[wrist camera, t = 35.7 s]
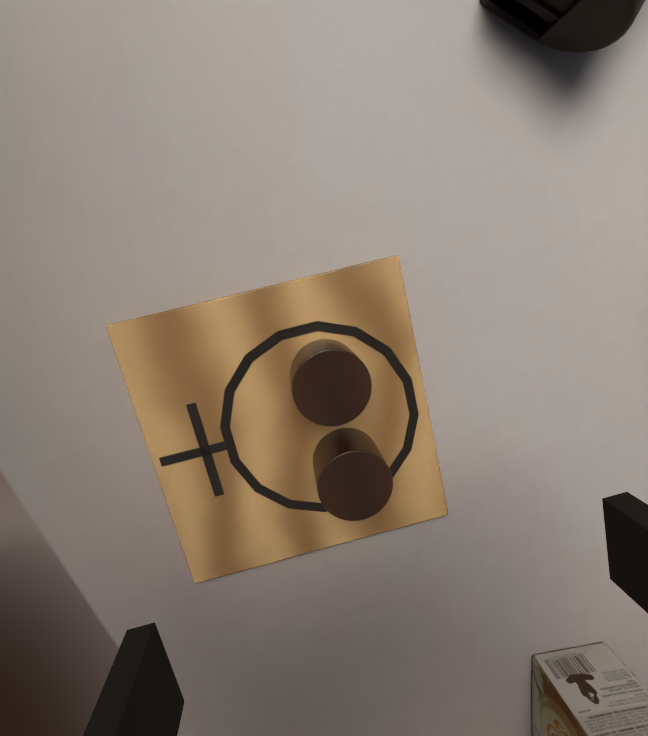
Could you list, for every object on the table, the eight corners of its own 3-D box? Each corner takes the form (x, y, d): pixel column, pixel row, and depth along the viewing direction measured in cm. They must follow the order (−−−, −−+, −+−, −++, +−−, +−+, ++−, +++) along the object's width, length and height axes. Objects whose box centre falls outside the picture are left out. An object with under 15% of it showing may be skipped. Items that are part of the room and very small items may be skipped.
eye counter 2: (299, 414, 29) (302, 435, 25) (282, 348, 28) (283, 359, 24) (365, 397, 29) (379, 415, 25) (351, 331, 28) (362, 340, 24)
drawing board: (196, 576, 31) (194, 585, 30) (110, 324, 27) (104, 326, 26) (444, 509, 32) (449, 515, 31) (395, 255, 28) (398, 254, 27)
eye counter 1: (321, 497, 30) (327, 530, 26) (305, 437, 29) (309, 461, 25) (384, 480, 30) (400, 510, 26) (370, 420, 29) (385, 441, 25)
